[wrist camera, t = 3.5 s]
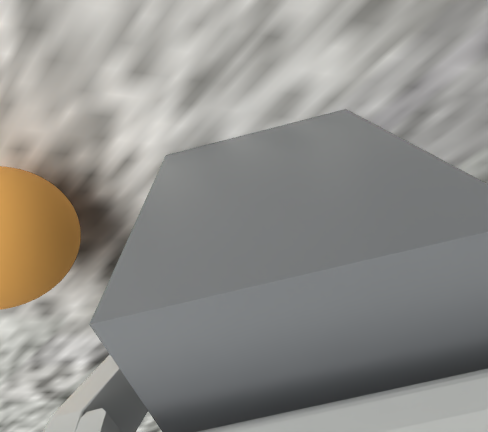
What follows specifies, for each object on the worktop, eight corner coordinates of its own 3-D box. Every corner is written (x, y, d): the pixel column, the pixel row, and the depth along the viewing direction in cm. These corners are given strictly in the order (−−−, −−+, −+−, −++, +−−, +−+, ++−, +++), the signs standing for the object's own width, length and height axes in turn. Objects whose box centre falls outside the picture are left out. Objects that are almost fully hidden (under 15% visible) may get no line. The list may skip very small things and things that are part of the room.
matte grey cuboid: (346, 109, 13) (550, 217, 5) (357, 256, 16) (485, 453, 8) (165, 155, 13) (89, 324, 5) (215, 289, 16) (214, 507, 9)
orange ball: (63, 134, 12) (-24, 185, 8) (117, 239, 15) (74, 324, 10) (-59, 165, 12) (-209, 232, 8) (14, 264, 15) (-70, 357, 10)
